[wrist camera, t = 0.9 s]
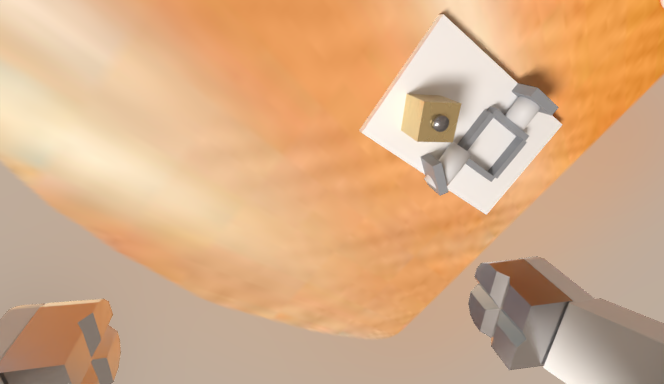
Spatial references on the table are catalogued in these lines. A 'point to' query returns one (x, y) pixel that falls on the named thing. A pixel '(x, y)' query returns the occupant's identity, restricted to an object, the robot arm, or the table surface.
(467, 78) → the shaft bench
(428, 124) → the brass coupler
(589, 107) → the table surface
